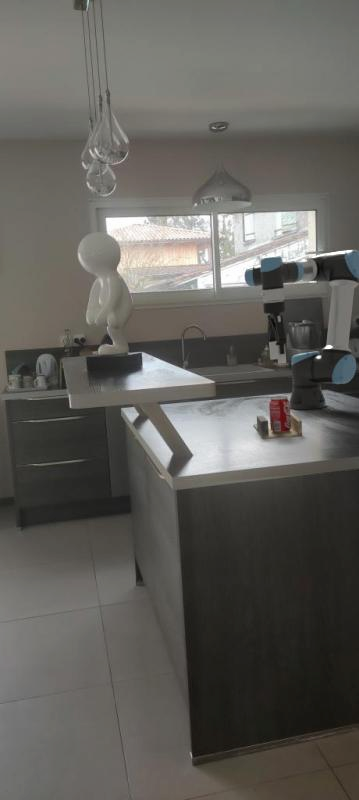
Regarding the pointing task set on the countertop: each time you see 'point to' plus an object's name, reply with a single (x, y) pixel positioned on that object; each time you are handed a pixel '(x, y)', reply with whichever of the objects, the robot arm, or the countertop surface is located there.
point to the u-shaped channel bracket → (266, 432)
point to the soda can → (280, 414)
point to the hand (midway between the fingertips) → (278, 361)
